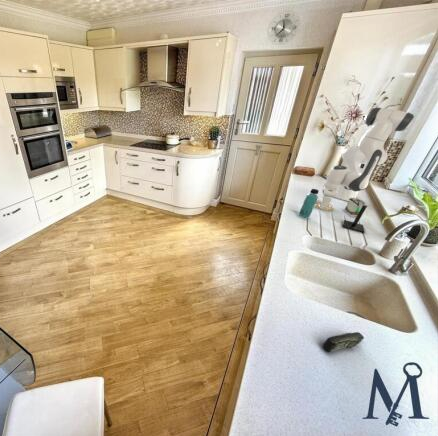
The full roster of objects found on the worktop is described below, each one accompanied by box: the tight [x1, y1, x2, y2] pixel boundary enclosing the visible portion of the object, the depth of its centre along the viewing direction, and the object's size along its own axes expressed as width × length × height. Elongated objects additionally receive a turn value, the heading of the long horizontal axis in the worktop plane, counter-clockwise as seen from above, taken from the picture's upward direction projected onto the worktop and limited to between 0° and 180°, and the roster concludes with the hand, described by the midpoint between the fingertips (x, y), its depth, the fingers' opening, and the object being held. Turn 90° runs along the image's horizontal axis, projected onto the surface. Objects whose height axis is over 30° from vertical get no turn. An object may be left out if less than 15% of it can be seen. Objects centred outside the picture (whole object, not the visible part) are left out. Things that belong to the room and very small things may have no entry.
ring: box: [313, 199, 334, 211], centre depth 170 cm, size 14×14×2 cm
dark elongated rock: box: [322, 331, 365, 353], centre depth 77 cm, size 5×3×15 cm
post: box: [342, 204, 368, 234], centre depth 143 cm, size 10×10×15 cm
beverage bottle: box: [298, 188, 319, 219], centre depth 150 cm, size 6×7×20 cm
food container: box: [344, 197, 366, 217], centre depth 159 cm, size 12×6×10 cm, turn 168°
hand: (321, 207), depth 165 cm, fingers closed on ring, 2 cm apart
